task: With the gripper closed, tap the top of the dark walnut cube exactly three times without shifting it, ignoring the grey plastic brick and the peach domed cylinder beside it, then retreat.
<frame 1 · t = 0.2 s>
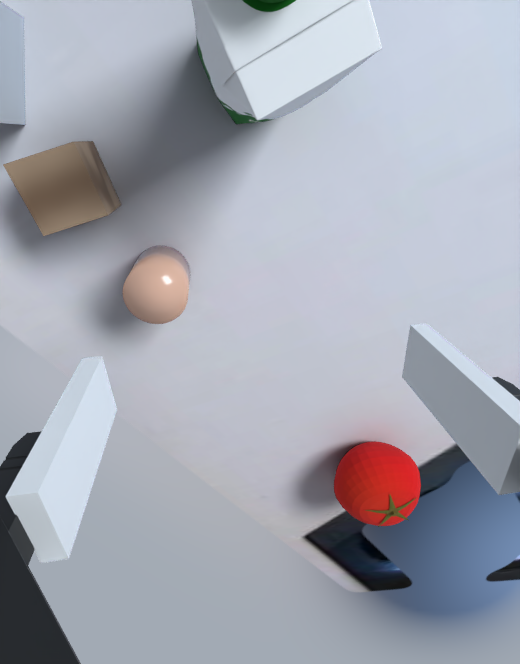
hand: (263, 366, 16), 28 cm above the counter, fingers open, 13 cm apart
tomato: (363, 455, 59), on the counter
milk carton: (250, 66, 34), on the counter
peach domed cylinder: (163, 272, 42), on the counter
walnut cube: (79, 183, 37), on the counter
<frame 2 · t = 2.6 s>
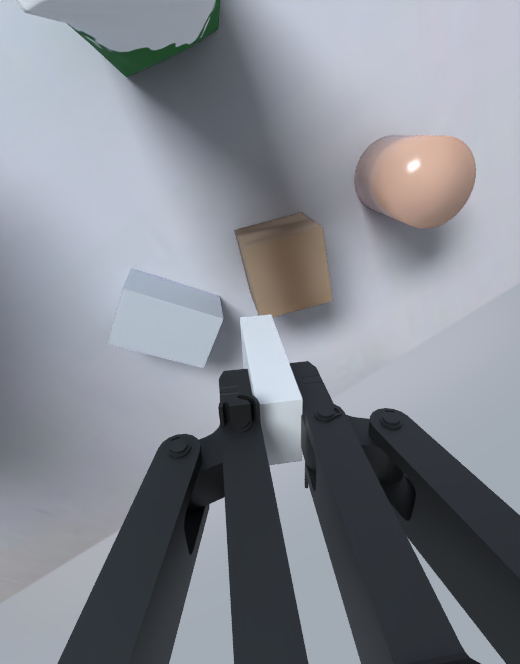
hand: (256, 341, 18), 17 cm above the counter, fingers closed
peach domed cylinder: (388, 174, 32), on the counter
walnut cube: (274, 254, 34), on the counter
grey brick: (169, 306, 34), on the counter
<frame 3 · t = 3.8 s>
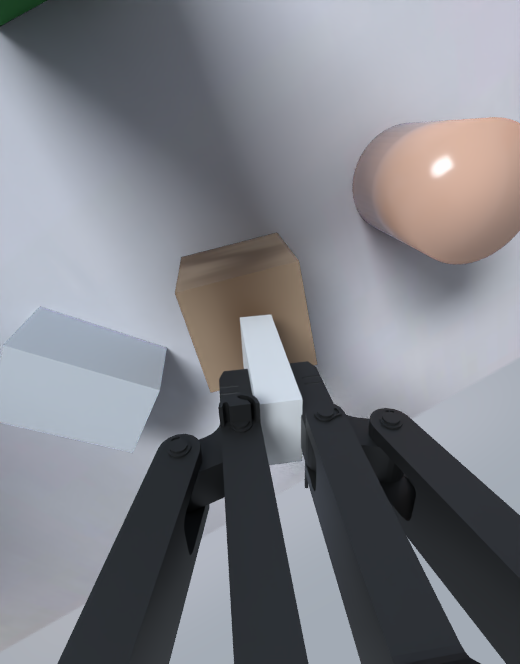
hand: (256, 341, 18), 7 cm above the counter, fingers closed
peach domed cylinder: (401, 180, 22), on the counter
walnut cube: (241, 289, 24), on the counter
grey brick: (96, 358, 25), on the counter
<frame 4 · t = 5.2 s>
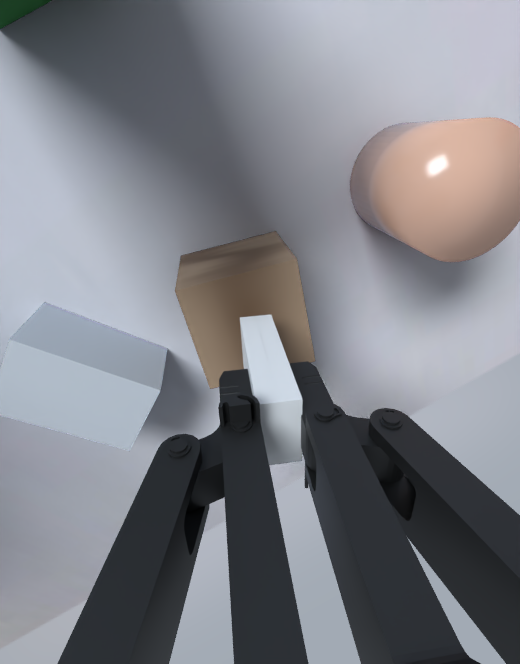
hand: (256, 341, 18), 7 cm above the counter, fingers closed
peach domed cylinder: (398, 179, 23), on the counter
walnut cube: (240, 287, 25), on the counter
grey brick: (97, 355, 25), on the counter
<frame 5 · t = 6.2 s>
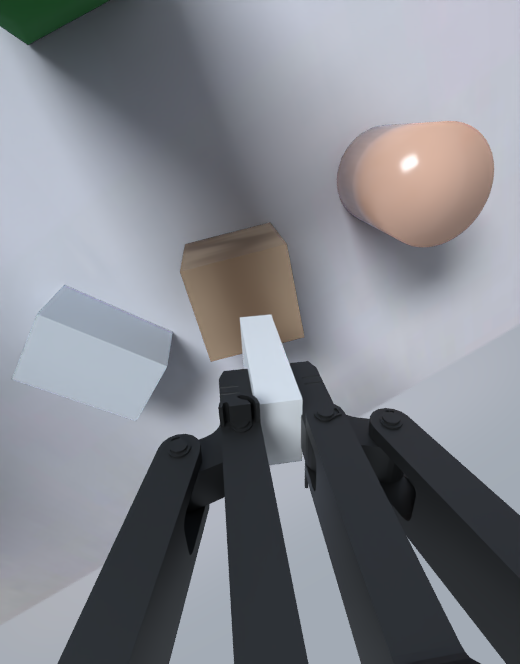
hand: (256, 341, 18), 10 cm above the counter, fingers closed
peach domed cylinder: (380, 176, 25), on the counter
walnut cube: (238, 273, 27), on the counter
grey brick: (108, 335, 28), on the counter
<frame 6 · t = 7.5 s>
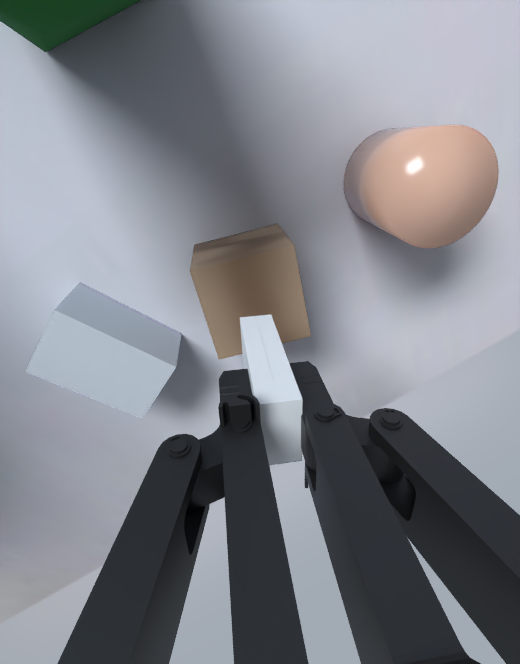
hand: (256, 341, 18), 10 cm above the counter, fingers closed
peach domed cylinder: (386, 178, 26), on the counter
walnut cube: (246, 273, 28), on the counter
grey brick: (119, 334, 29), on the counter
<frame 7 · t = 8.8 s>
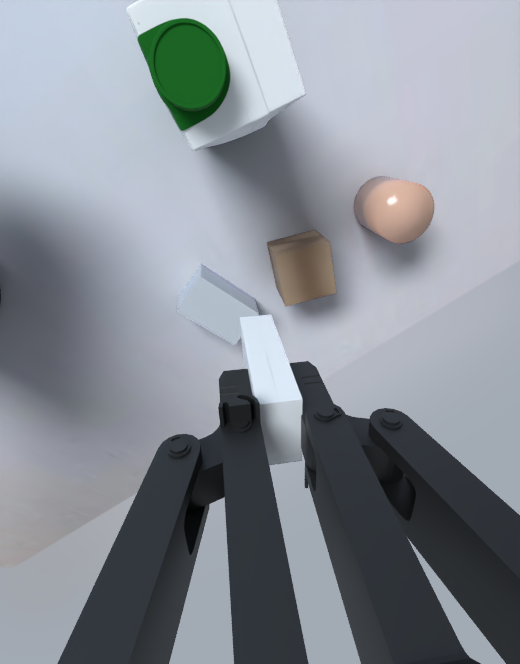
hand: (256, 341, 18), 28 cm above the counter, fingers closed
milk carton: (215, 89, 37), on the counter
peach domed cylinder: (378, 203, 44), on the counter
walnut cube: (295, 259, 46), on the counter
grey brick: (217, 296, 47), on the counter
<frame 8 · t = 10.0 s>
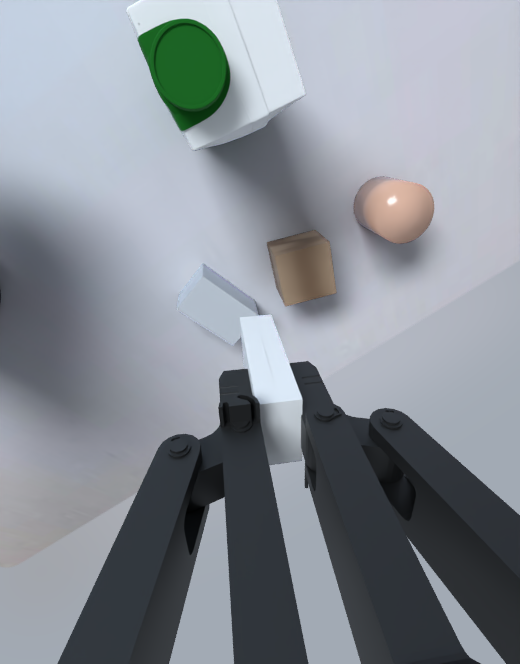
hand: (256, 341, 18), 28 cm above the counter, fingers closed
milk carton: (215, 89, 37), on the counter
peach domed cylinder: (378, 203, 44), on the counter
walnut cube: (295, 259, 46), on the counter
grey brick: (217, 296, 47), on the counter
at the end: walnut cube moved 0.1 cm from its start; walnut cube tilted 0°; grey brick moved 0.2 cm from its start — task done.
